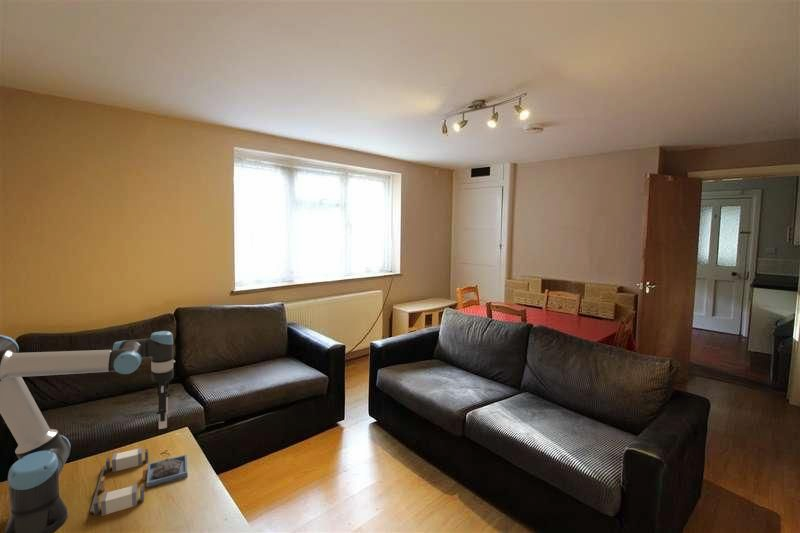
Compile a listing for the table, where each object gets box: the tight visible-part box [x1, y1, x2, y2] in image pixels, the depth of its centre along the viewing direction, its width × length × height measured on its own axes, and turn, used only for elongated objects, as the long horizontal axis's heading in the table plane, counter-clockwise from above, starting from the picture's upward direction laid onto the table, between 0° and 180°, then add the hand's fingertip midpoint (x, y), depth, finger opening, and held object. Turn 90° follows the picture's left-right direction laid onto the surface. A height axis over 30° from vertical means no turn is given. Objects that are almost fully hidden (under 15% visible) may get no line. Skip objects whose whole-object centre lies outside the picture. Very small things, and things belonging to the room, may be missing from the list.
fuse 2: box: [100, 483, 139, 517], centre depth 136 cm, size 10×5×5 cm, turn 121°
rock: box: [151, 457, 182, 478], centre depth 154 cm, size 9×11×4 cm
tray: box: [146, 454, 189, 489], centre depth 155 cm, size 14×14×2 cm
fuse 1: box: [111, 446, 144, 473], centre depth 159 cm, size 10×5×5 cm, turn 121°
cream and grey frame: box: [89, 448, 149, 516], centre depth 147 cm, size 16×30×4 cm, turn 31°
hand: (163, 420), depth 153 cm, fingers open, 13 cm apart
